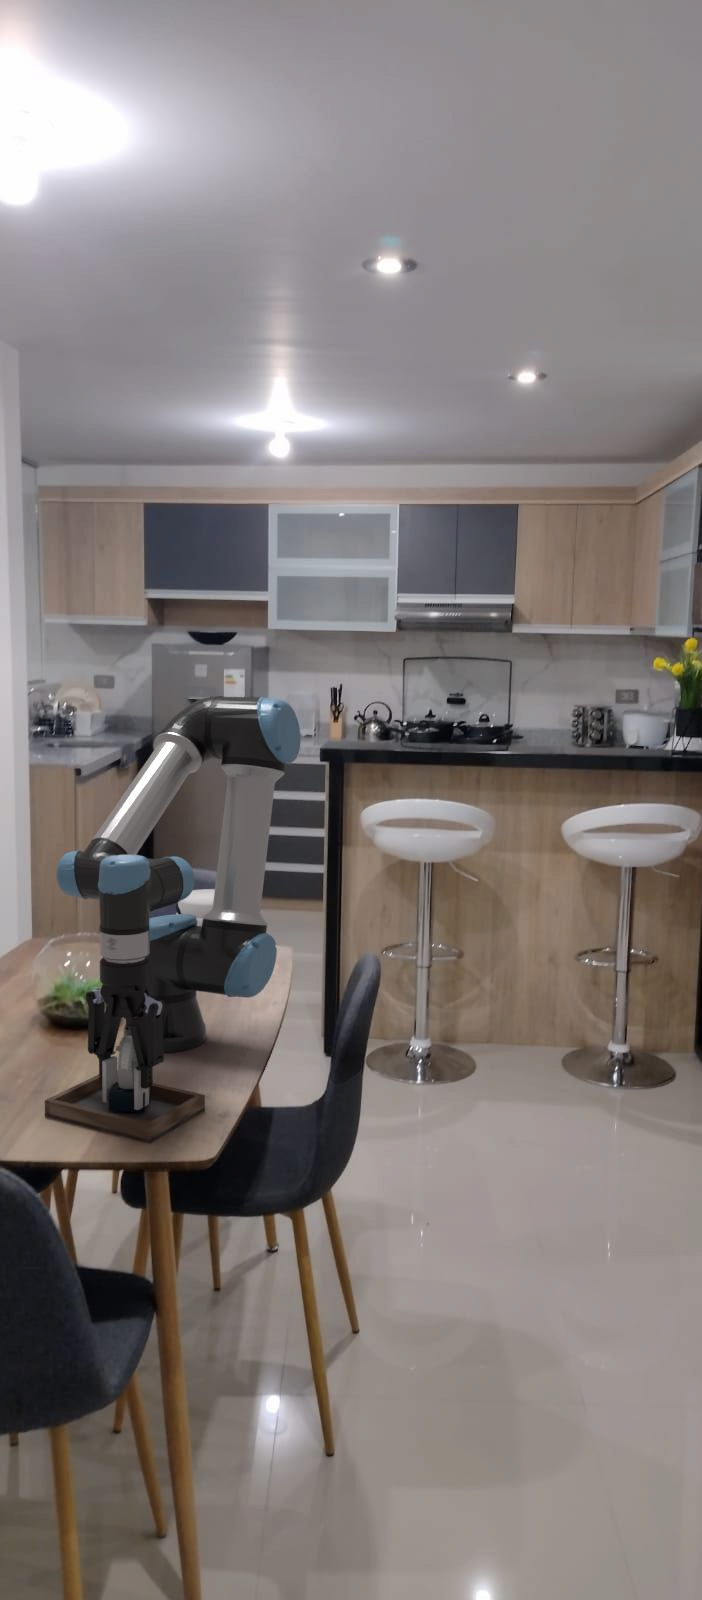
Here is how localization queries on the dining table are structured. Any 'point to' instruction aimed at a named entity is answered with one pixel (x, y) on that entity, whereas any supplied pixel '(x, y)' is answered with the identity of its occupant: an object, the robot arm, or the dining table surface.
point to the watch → (125, 1079)
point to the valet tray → (155, 1122)
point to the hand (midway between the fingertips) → (125, 1102)
